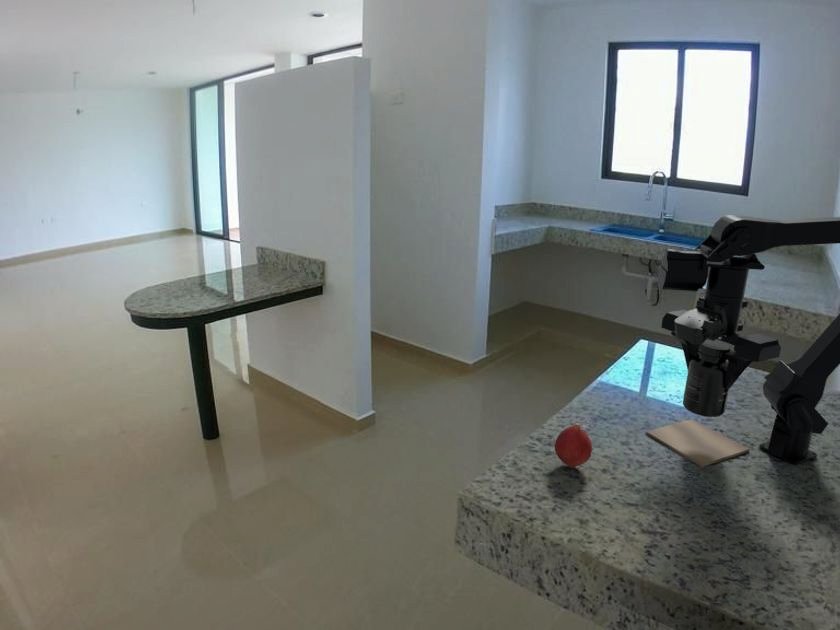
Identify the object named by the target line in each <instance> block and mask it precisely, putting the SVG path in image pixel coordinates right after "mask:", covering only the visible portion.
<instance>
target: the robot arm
mask: <svg viewBox="0 0 840 630" xmlns="http://www.w3.org/2000/svg"><path fill="white" fill-rule="evenodd" d="M834 244H840V216H834V217H833V216H832V217H831V216H829V217H828V216H827V217H812V218H809V217H808V218H794V219H793V218H791V219H778V220H777V219H769V218H768V219H767V218H762V217H757V216H756V217H754V216H746V215H737V214H729V215H723V216H722V217H720V218H719V219H718V220H717V221H716V222H715V223H714V224H713V226H712V228H711V233H710V234H709V235H708V236H706V238H704V240H702V242H701V243H699V244H698V245H697V246H696V247H695V248H694V251H693V250H677V249H675V248H665V250H664V255H663V256H662V259H661V260H660V264H659V265H658V270H657V286H658V289H659V290H660V291H673V292H674V291H675V292H677V291H678V292H690V293H691V292H693V293H697V292H698V291H699V290H701V289H702V290H703V288H704V286H705V291H704V296H700V297H698V300H697V301H696V305H695V307H694V308H693V309H689V310H687V309H681V310H674V311H668V312H666V313H665V314H664V315H663V316H662V317H661V318H662V319H661V323H660V328H662V329H664V330H667V331H670V334H671V336H672V337H674V338H676V339H677V340H678V342H679V343H680V345H681V348H682V352H683V355H684V360H685V365H686V369H687V370H688V369H689V364H690V361H691V359H692V358H693V357H695V356H698V355H699V354H698V353H697V351H698V349H699V344H702V343H704V342H705V341H714V342H715V340H717V341H721V342H723V343H725V344H729V345H732V346H734V347H733V351H730V353H726V354H725V355H726V357H727V359H728V366H727V371H726V376H725V381H724V388H725V389H729V388H730V389H731V388H732V387H733V385H734V384H735V383H736V382H737V380H738V379H739V377H740V376H741V375H742V374H743V373H744V372H745V371H746V370H747V368H748V367H749V366H750V365H751V364H752V363H753V362H756V363H759V362H760V363H761V362H763V361H768V360H773V359H777V358H780V354H781V350H782V346H781V343H780V342H779V339H775V338H773V337H770V336H768V335H764V334H761V333H752V334H749V335H742V334H739V333H738V332H741V331H743V328H744V324H742V323H740V318H741V313H742V309H745V308H748V304H749V301H748V300H744V298H745V292H746V286H747V282H748V276H749V271H750V270H757V271H758V270H759V271H761V270H762V271H763V270H764V269H765V268H766V267H765V265H764V264H763V263H762V262H761V261H760V260H759V259H758V256H757V254H759V253H763V252H767V251H770V250H772V249H775V248H780V247H788V246H789V247H790V246H808V245H809V246H811V245H813V246H814V245H834ZM839 366H840V313H839V314H838V315H837V316H836V317H835V318H834V319H833V320H832V322H831V323H830V324H829V325H828V326H827V327H826V328H825V330H824V331H823V332H822V333H821V334H820V335H819V336H818V338H817V339H816V340H815V341H814V342H813V343H812V344H811V345H810V347H809V348H808V349H807V350H806V351H805V353H803V355H802V356H801V357H800V358H799V359H797V360H794V361H792V362H790V363H788V364H787V363H785V362H784V361H782V360H779V361H778V362H777V363H776V364H775V366H774V368H773V369H772V371H770V372H769V373H768V374H767V375H764V377H763V378H764V379H765V382H764V383H763V385H762V392H763V396H764V398H765V399H766V401H768V402H769V404H770V407H771V409H772V410H773V411H774V412H775V413H776V415H775V418H774V420H773V425H772V430H771V434H770V438H769V440H768V441H765V442H762V443H760V444H759V448H760V449H762V450H764V451H765V452H768V453H770V454H772V455H773V456H776V457H778V458H780V459H782V460H784V461H786V462H788V463H789V464H791V465H794V466H795V465H798V464H801V463H804V462H806V461H807V462H808V461H810V460H812V459H815V458H817V457H818V453H816V452H814V451H812V450H810V446H811V442H812V438H813V435H814V434H818V435H819V434H823V432H824V431H825V429H826V428H827V427H828V425H829V423H828V422H827V420H826V419H825V418H824V417H823V416H822V415H821V414H820V412H819V411H818V410H817V409H816V407H817V406H818V405H819V403H820V401H821V400H822V398H823V396H824V392H825V389H826V385H827V381H828V378H829V377H830V376H831V374H832V373H833V372H834V371H836V369H837V368H838V367H839Z"/></svg>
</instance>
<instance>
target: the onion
mask: <svg viewBox="0 0 840 630" xmlns="http://www.w3.org/2000/svg"><path fill="white" fill-rule="evenodd" d="M554 451H555V454H556V456H557V458H558V459H559V460H560V461H561V462H562V463H564V464H565V465H566V466H568V467H569V468H571V469H574V468H576V467H578V466H581V465H583V464H585V463H586V462H588V460H589V459H590V458H591V455H592V451H593V444H592V440H591V438H590V437H589V435H588V434H587V433H586V431H584V430H583V429H582V428H581V424H580V423H578V422H577V423H575V424H574V423H573V425H571V426H568V427H566V428H564V429H563V430H562V431H561V432H559V434H558V435H557V437H556V439H555V443H554Z"/></svg>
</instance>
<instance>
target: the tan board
mask: <svg viewBox="0 0 840 630" xmlns="http://www.w3.org/2000/svg"><path fill="white" fill-rule="evenodd" d="M645 434H646V436H649V437H650V438H652V439H653V440H656V441H657V442H658V443H660V444H662V445H664V446H665V447H667V448H668V449H670V450H672V451H674V452H675V453H676V454H679V455H680V456H682V457H683V458H686V459H687V460H689V461H691V462H693V463H694V464H696V465H697V466H699V467H701V468H704V467H706V466H709V465H712V464H715V463H718V462H721V461H725V460H728V459H730V458H733V457H737V456H740V455H743V454H745V453H749V452H750V448H749V447H746V446H744V445H742V444H740V443H738V442H737V441H735V440H733V439H731V438H729V437H727V436H725V435H723V434H721V433H719V432H717V431H715V430H713V429H711V428H710V427H708V426H706V425H704V424H702V423H700V422H698V421H696V420H694V419H693V418H691V419H686V420H684V421H683V420H682V421H679V422H676V423H673V424H668V425H665V426H661V427H658V428H655V429H651V430H648V431H647V430H646V431H645Z"/></svg>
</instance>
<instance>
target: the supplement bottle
mask: <svg viewBox="0 0 840 630" xmlns="http://www.w3.org/2000/svg"><path fill="white" fill-rule="evenodd" d="M731 348H732V347H731V346H729V345H727V343H724V342H723V343H722V342H719V341H715V340H714V341H712V340H705V342H704V343H702V344H699V349H698V351H697V353H698V354H699V355H698V356H695V357H693V358H692V359H691V361H690V364H689V369H687V375H686V381H685V387H684V391H683V392H684V393H683V394H684V395H683V398H682V405H683V407H684V409H686V410H687V411H688V412H690V413H691V414H695V415H698V416H701V417H708V418H718V417H721V416H723V415H724V414H725V413H726V408H727V404H728V400H729V395H730V389H731V388H729V389H725V388H724V381H725V376H726V371H727V366H728V359H727V357H726V355H725V354H726V353H730V352H731V351H732V350H731Z"/></svg>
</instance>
